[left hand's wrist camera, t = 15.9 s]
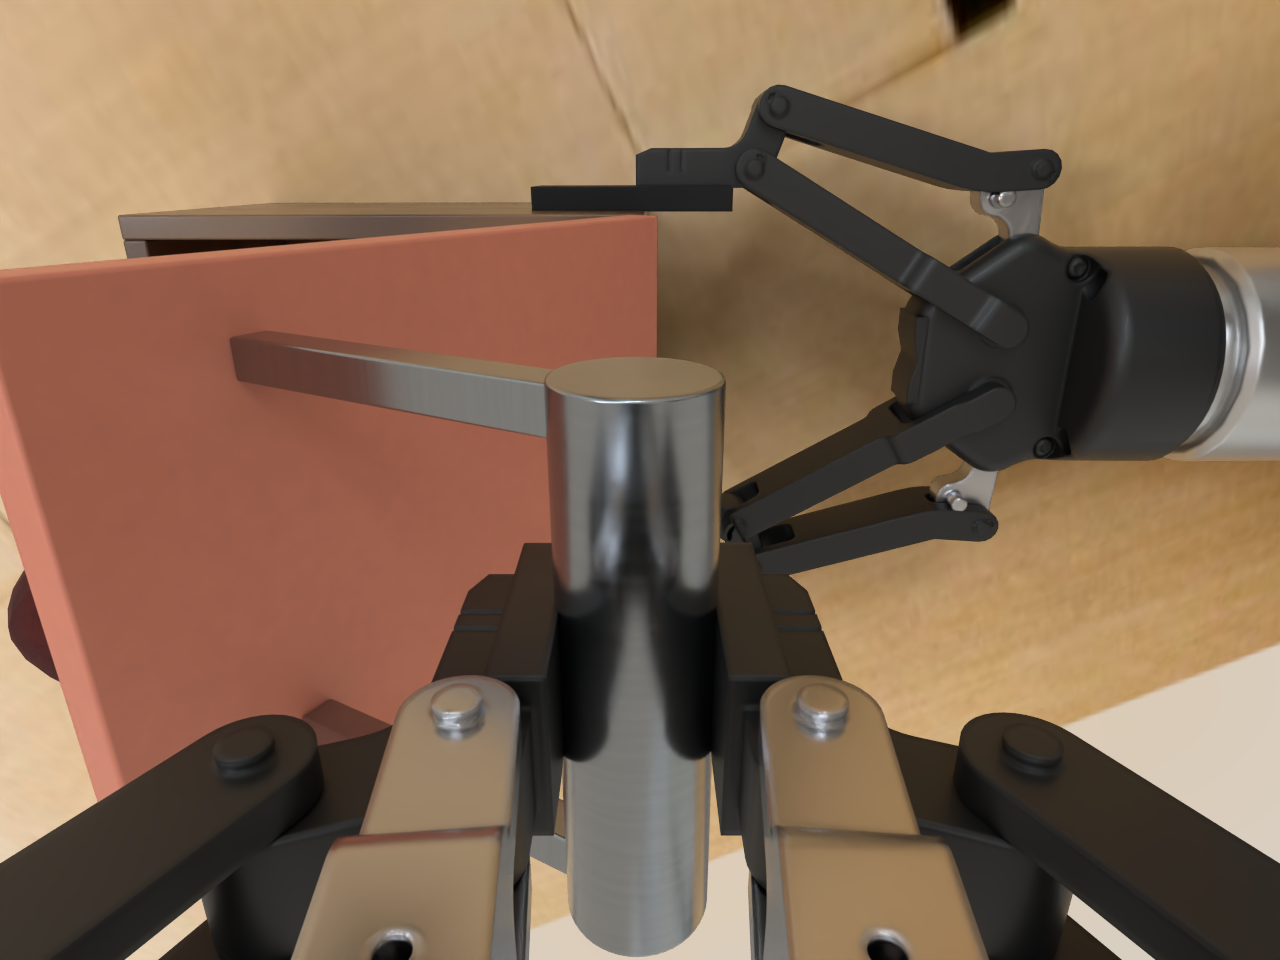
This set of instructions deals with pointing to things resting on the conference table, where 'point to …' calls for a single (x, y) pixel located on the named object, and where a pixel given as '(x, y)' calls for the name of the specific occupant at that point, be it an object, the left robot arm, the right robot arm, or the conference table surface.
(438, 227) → the chest
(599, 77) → the conference table surface
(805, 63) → the conference table surface
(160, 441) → the lid
